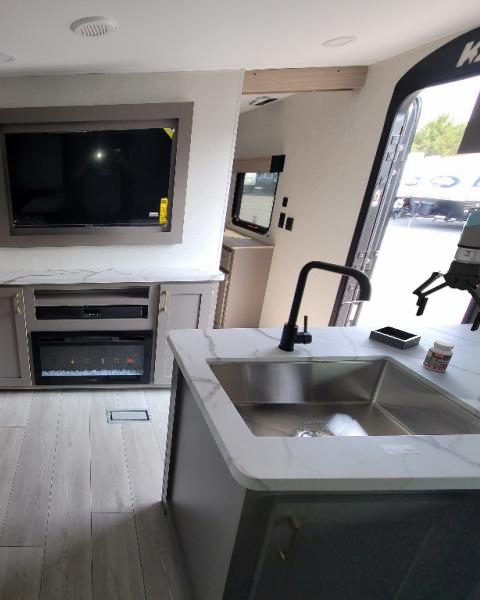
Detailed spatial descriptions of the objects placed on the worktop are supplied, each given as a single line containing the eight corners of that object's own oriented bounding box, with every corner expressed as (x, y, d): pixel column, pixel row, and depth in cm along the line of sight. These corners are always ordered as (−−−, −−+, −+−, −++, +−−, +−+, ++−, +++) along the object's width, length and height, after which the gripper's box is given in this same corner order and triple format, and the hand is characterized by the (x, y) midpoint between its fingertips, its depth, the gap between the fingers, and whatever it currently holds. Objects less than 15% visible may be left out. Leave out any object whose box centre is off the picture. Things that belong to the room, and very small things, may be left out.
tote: (418, 343, 131) (421, 335, 130) (402, 349, 127) (405, 341, 126) (384, 332, 141) (387, 325, 140) (368, 337, 137) (371, 330, 136)
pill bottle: (428, 370, 114) (438, 345, 110) (418, 362, 119) (428, 338, 115) (449, 373, 112) (460, 348, 108) (438, 364, 117) (449, 340, 114)
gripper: (412, 254, 112) (393, 311, 119) (526, 271, 90) (494, 339, 98) (424, 252, 115) (405, 308, 122) (537, 268, 93) (506, 334, 100)
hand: (444, 322), depth 110 cm, fingers open, 13 cm apart
